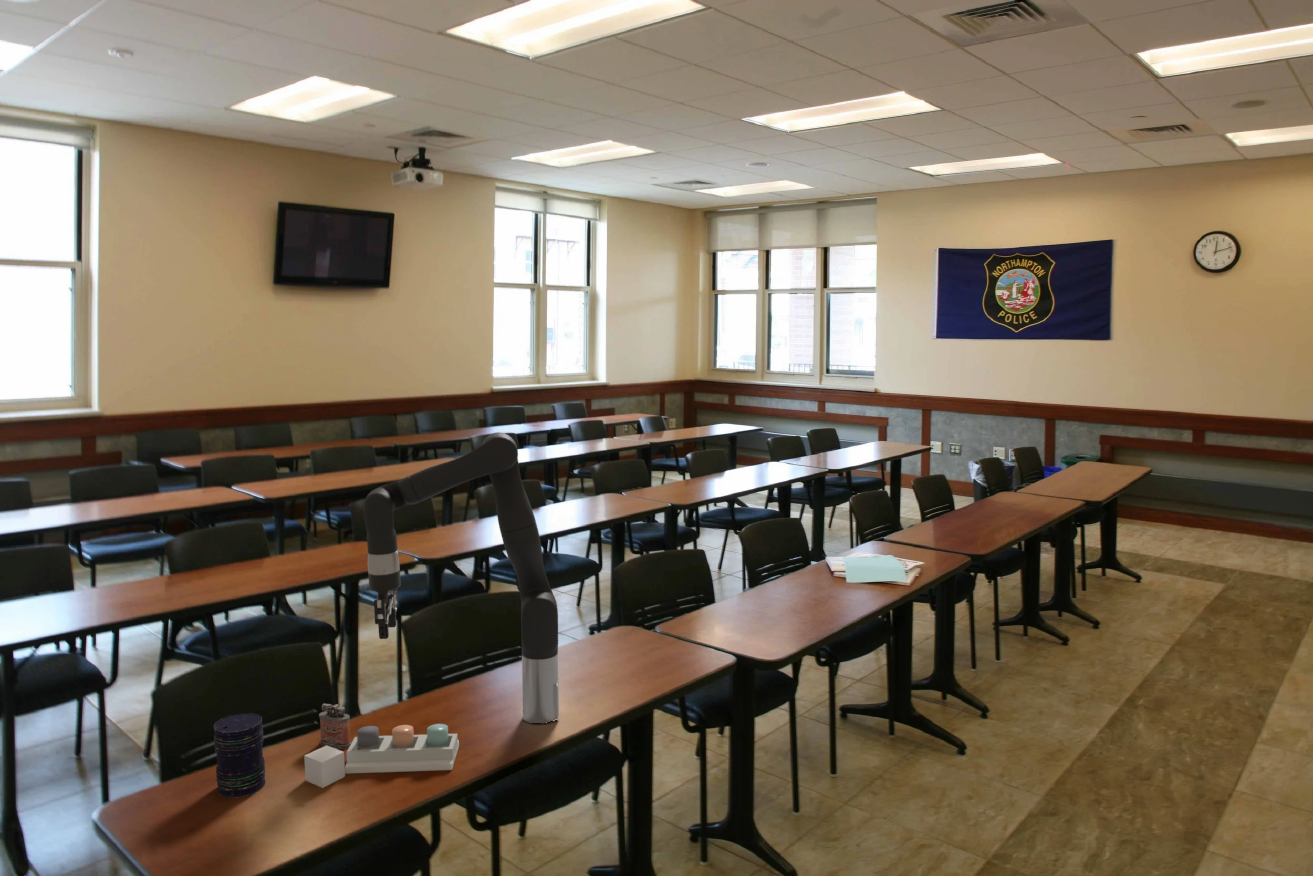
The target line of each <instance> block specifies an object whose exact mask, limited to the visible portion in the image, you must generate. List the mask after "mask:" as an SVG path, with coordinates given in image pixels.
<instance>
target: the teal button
mask: <svg viewBox="0 0 1313 876" xmlns="http://www.w3.org/2000/svg"><path fill="white" fill-rule="evenodd" d="M448 734H449V726H448V725H446V724H444V723H435V724H432V725H430V726H429V725H428V727H427V728H426V735H427V742H428V743H429V744H431V745H441V744H444V743H446V742H447V741H448Z"/></svg>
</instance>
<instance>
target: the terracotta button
mask: <svg viewBox="0 0 1313 876" xmlns="http://www.w3.org/2000/svg"><path fill="white" fill-rule="evenodd" d="M414 735H415V733H414V726H412V725H409V724H401V725H397V726H395V727H393V728H392V730H391V736H392V741H393V745H395V746H406V745H409V744H411V743H413V741H414Z"/></svg>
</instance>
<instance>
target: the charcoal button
mask: <svg viewBox="0 0 1313 876" xmlns="http://www.w3.org/2000/svg"><path fill="white" fill-rule="evenodd" d="M379 736H380V731H379V727H378V726H376V725H367V726H366V725H365V726H362V727H361V728H359V729H357V731H356V737H357V743H358V746H360V747H372V746H375V745H377V744H378V743H379Z"/></svg>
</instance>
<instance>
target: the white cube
mask: <svg viewBox="0 0 1313 876" xmlns="http://www.w3.org/2000/svg"><path fill="white" fill-rule="evenodd" d="M345 766H346V764H345V753H344V751H342V750H340V749H338V748H332V747H330V746H327V745H326V746H322V747H321V748H318V749H315V750H313V751H311V752H309V753H307V754H304V777H305V778H304V779H305V781H306V782H308V783H310V784H313V785H314V786H317V787H319V788H322V789H324V788H325V787H327V786H330V785H331V784H333V783H335V782H337V781H339V780H342V779H344V778H346V774H345Z"/></svg>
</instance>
